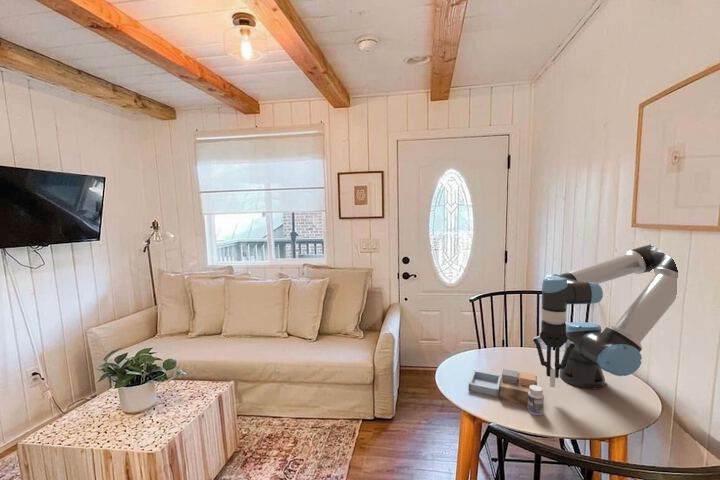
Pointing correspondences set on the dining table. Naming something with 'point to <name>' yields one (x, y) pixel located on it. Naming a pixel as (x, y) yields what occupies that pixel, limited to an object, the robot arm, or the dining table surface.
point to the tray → (485, 383)
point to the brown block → (514, 391)
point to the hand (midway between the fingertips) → (552, 385)
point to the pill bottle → (535, 400)
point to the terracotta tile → (527, 379)
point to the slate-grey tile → (510, 376)
